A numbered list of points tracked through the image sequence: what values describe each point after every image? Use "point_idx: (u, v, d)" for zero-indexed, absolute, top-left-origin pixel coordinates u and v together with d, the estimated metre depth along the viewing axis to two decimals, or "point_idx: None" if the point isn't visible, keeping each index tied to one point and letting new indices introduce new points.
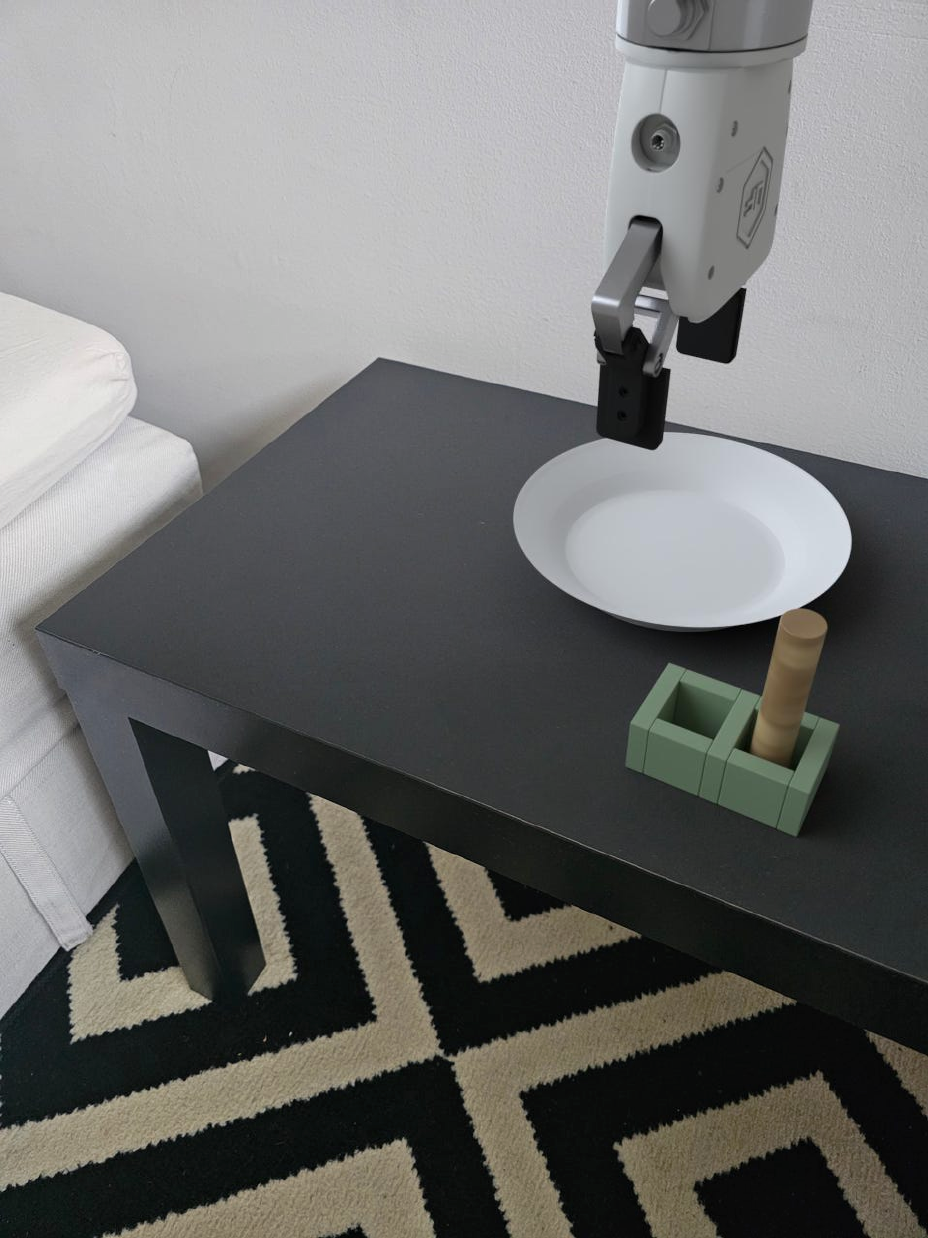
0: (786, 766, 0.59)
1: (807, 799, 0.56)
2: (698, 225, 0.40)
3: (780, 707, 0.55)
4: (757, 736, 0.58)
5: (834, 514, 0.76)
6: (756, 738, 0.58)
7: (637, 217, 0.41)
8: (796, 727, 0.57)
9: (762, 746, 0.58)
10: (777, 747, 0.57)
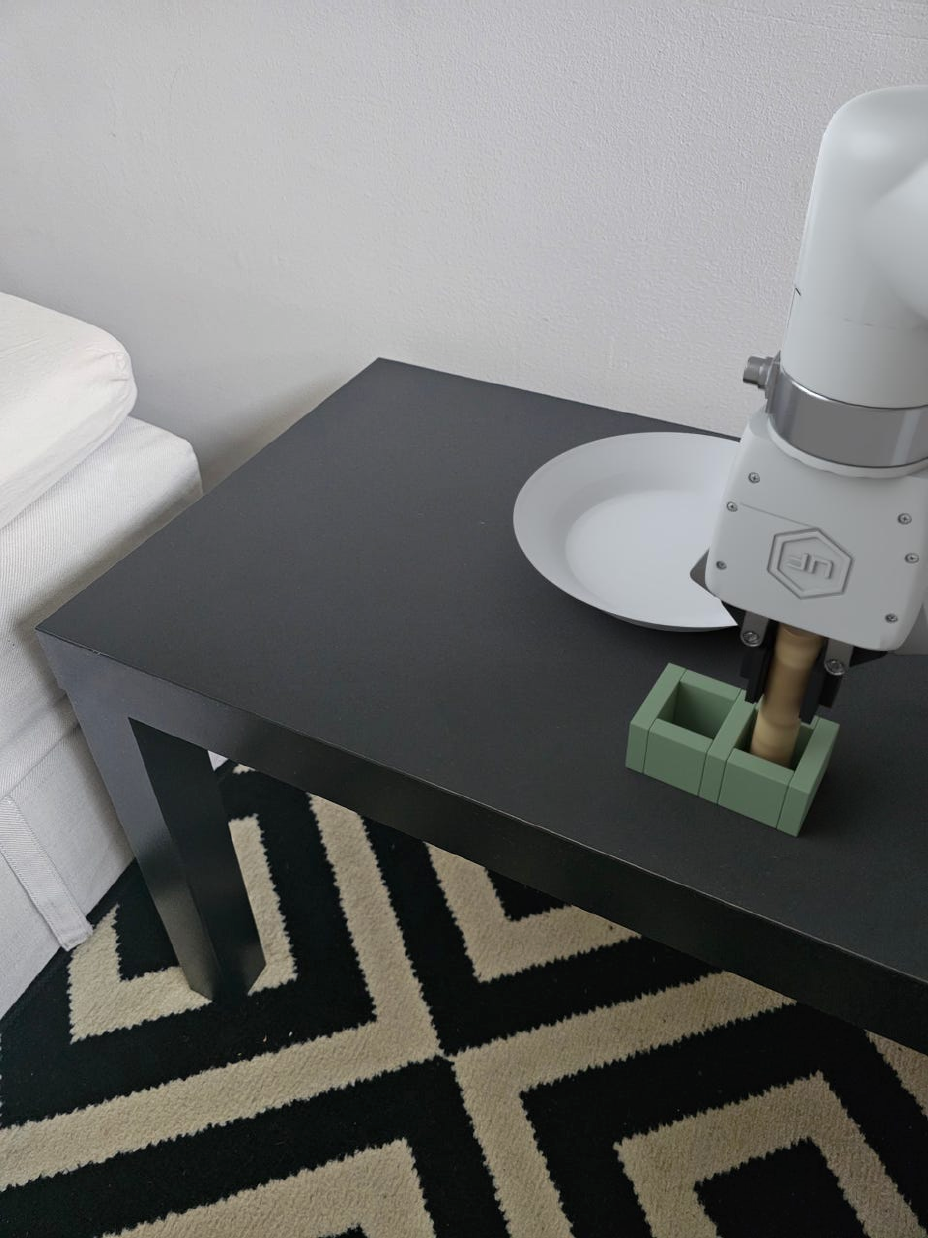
0: (786, 766, 0.59)
1: (807, 799, 0.56)
2: (716, 522, 0.49)
3: (780, 707, 0.55)
4: (757, 736, 0.58)
5: None
6: (756, 738, 0.58)
7: None
8: (796, 727, 0.57)
9: (762, 746, 0.58)
10: (777, 747, 0.57)
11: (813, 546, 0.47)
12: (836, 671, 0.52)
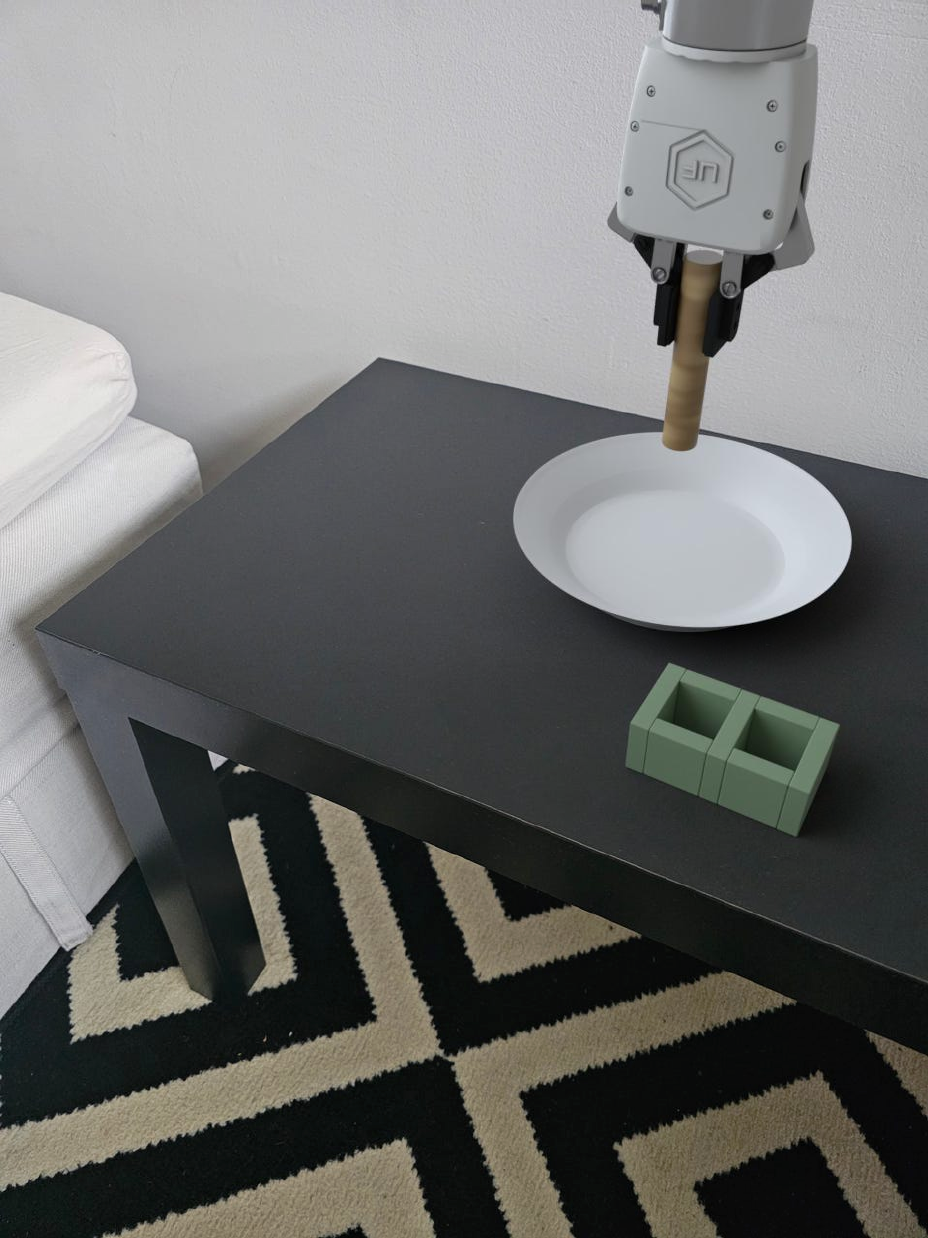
0: (697, 416, 0.67)
1: (807, 799, 0.56)
2: (623, 149, 0.57)
3: (687, 345, 0.64)
4: (670, 385, 0.66)
5: (834, 514, 0.76)
6: (670, 388, 0.66)
7: None
8: (702, 369, 0.65)
9: (675, 393, 0.66)
10: (687, 391, 0.66)
11: (701, 151, 0.55)
12: (730, 294, 0.60)
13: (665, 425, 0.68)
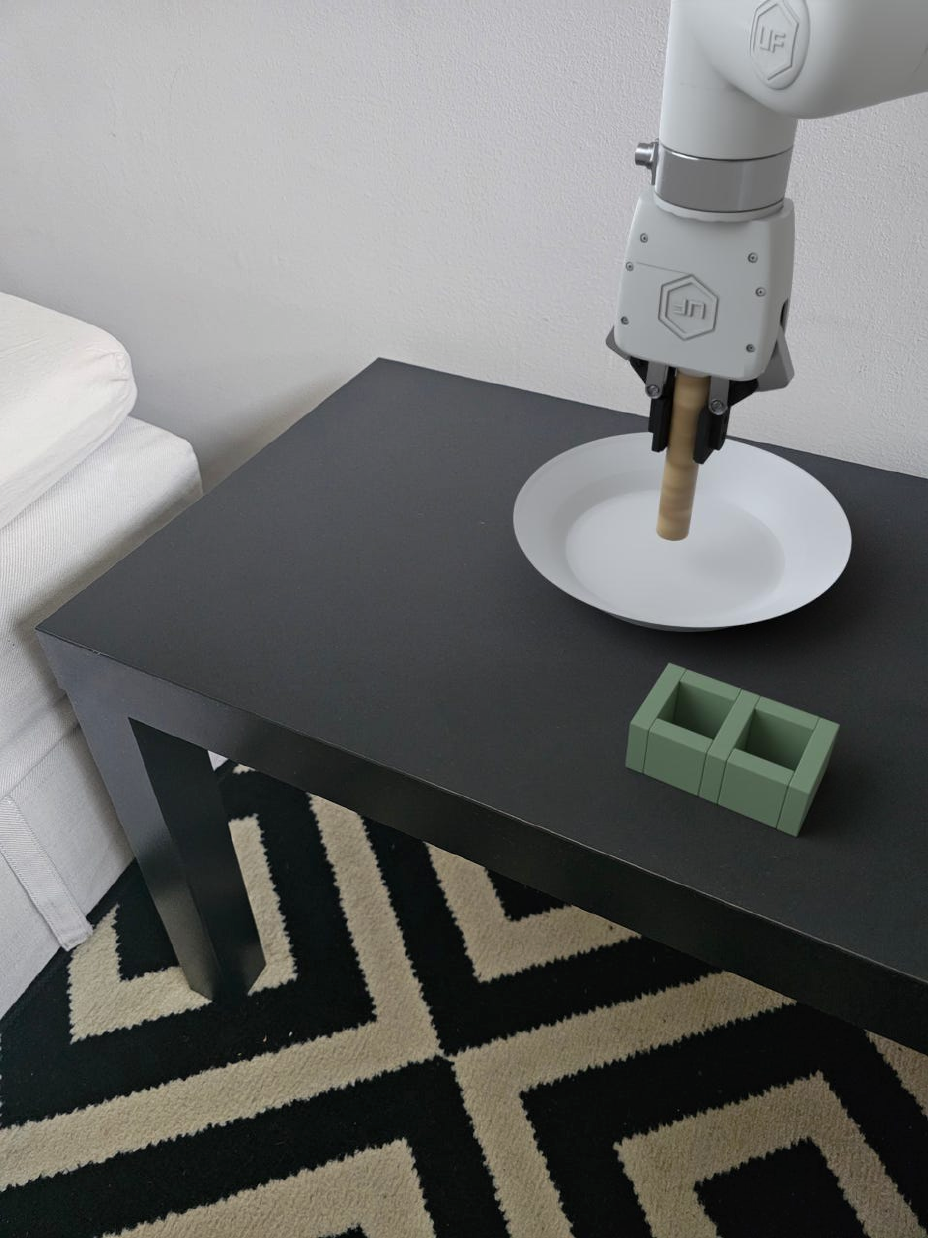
0: (688, 509, 0.72)
1: (807, 799, 0.56)
2: (620, 283, 0.63)
3: (680, 447, 0.69)
4: (664, 481, 0.71)
5: (834, 514, 0.76)
6: (663, 484, 0.72)
7: None
8: (694, 468, 0.70)
9: (668, 489, 0.71)
10: (680, 487, 0.71)
11: (690, 291, 0.60)
12: (718, 411, 0.66)
13: (659, 517, 0.73)
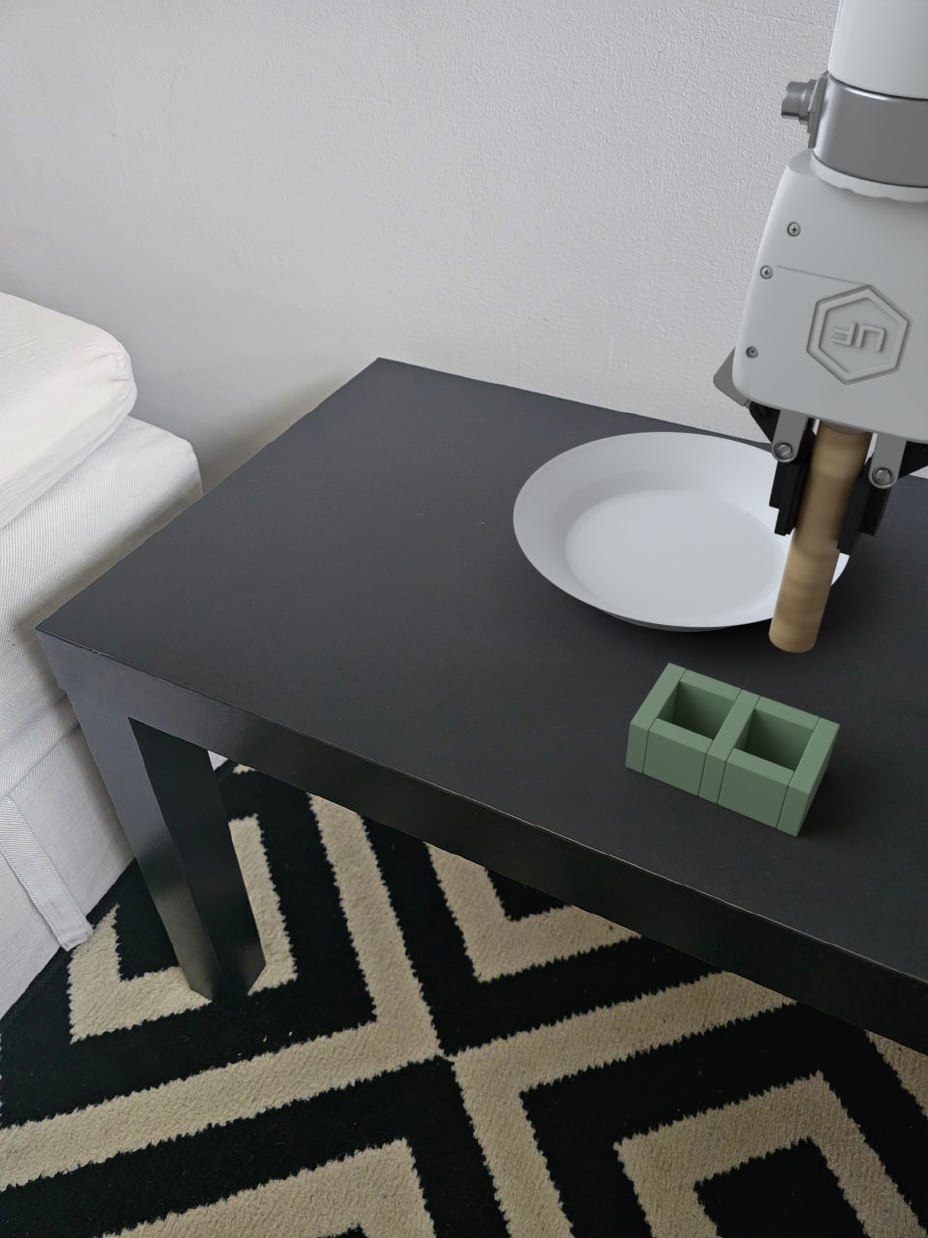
0: (820, 611, 0.51)
1: (807, 799, 0.56)
2: (747, 298, 0.42)
3: (817, 530, 0.48)
4: (788, 574, 0.51)
5: None
6: (787, 577, 0.51)
7: None
8: (834, 558, 0.49)
9: (794, 585, 0.51)
10: (811, 584, 0.50)
11: (862, 311, 0.40)
12: (883, 483, 0.45)
13: (776, 620, 0.53)
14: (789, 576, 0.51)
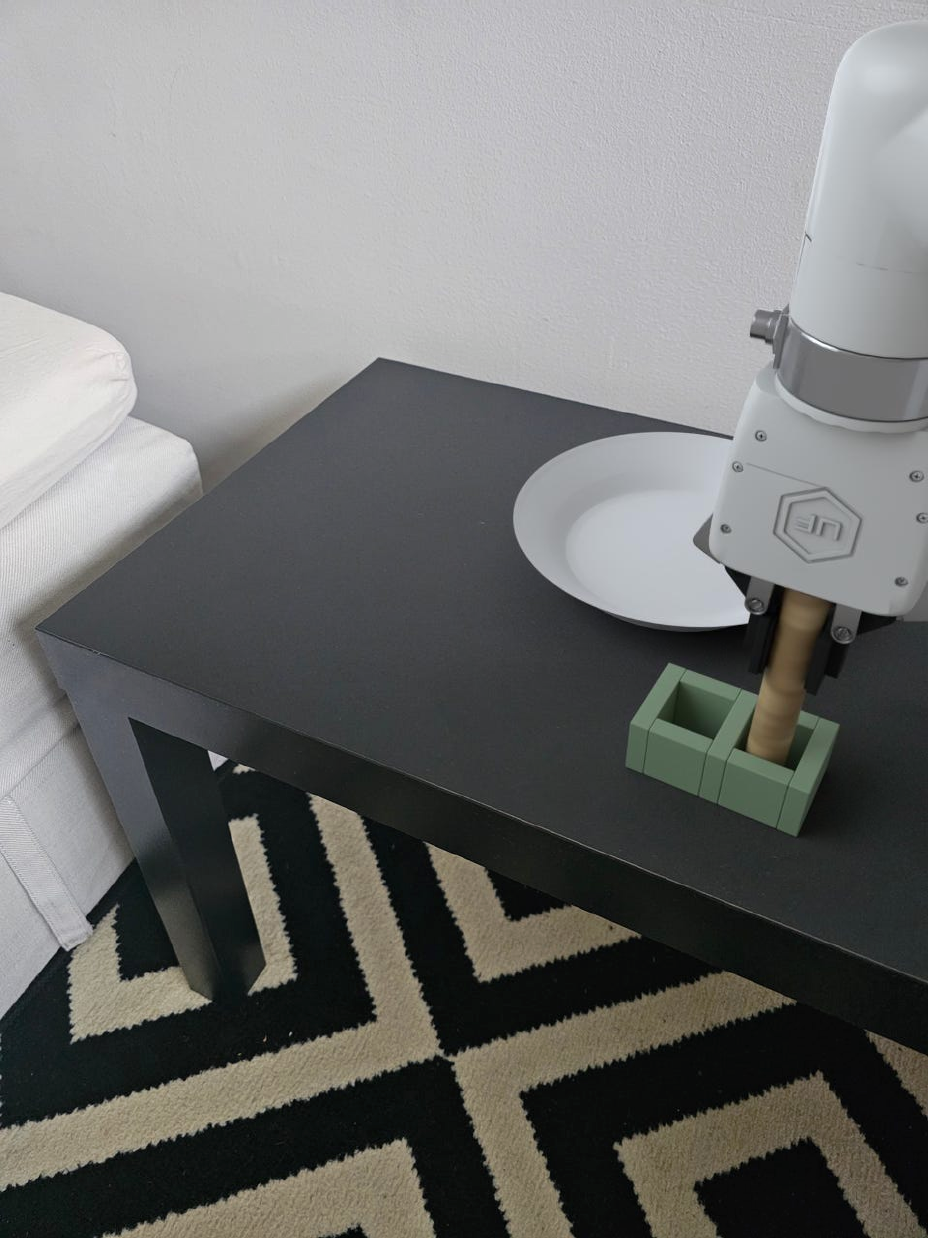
0: (790, 737, 0.57)
1: (807, 799, 0.56)
2: (721, 483, 0.48)
3: (786, 672, 0.54)
4: (761, 705, 0.56)
5: None
6: (760, 707, 0.56)
7: None
8: (802, 694, 0.55)
9: (766, 715, 0.56)
10: (782, 715, 0.56)
11: (821, 507, 0.45)
12: (843, 639, 0.51)
13: (751, 742, 0.58)
14: (762, 707, 0.56)
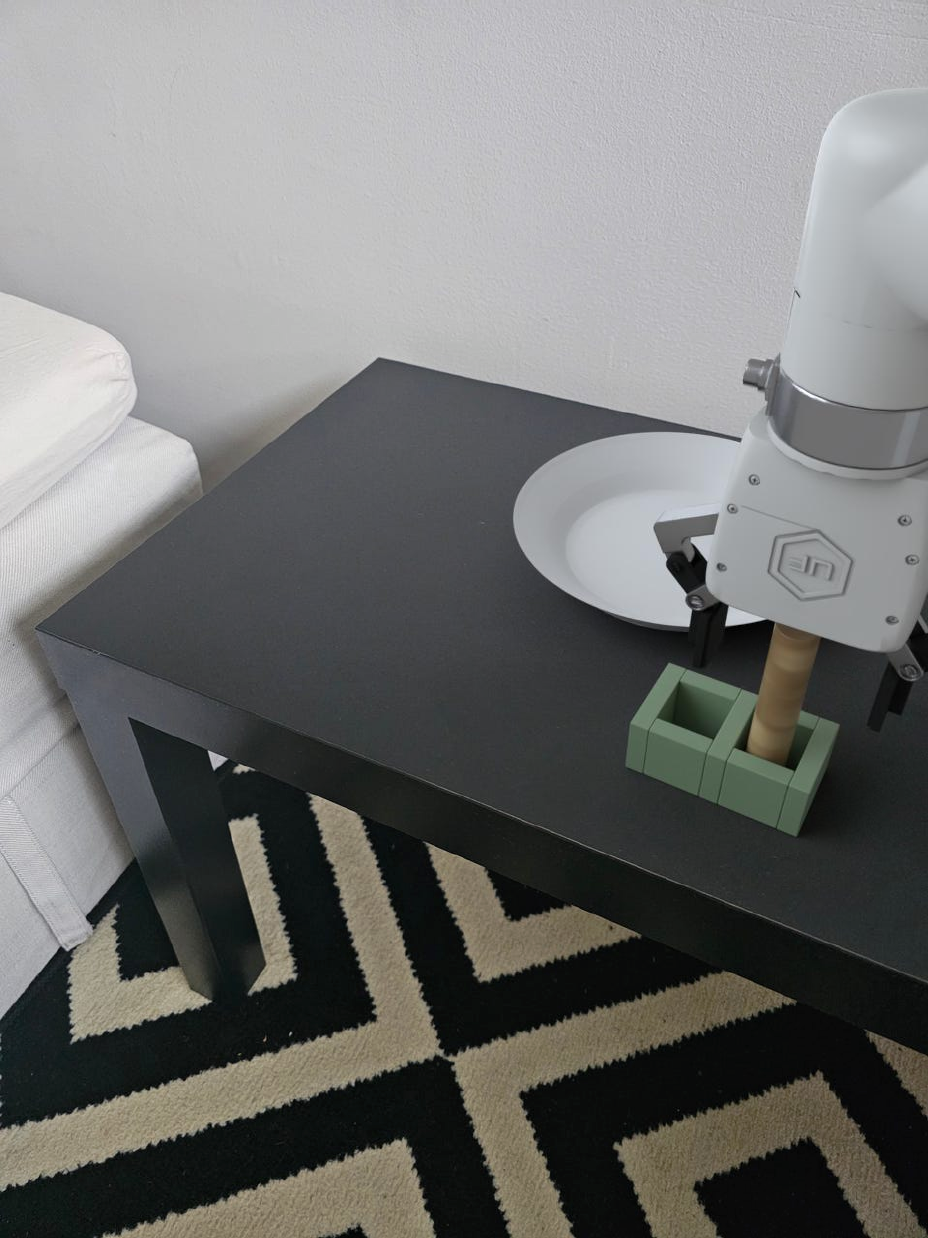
0: None
1: (807, 799, 0.56)
2: (717, 524, 0.49)
3: (776, 709, 0.55)
4: (752, 739, 0.58)
5: None
6: (752, 741, 0.58)
7: None
8: (792, 729, 0.56)
9: (758, 748, 0.58)
10: (773, 749, 0.57)
11: (813, 548, 0.47)
12: (910, 677, 0.50)
13: None
14: (754, 741, 0.58)
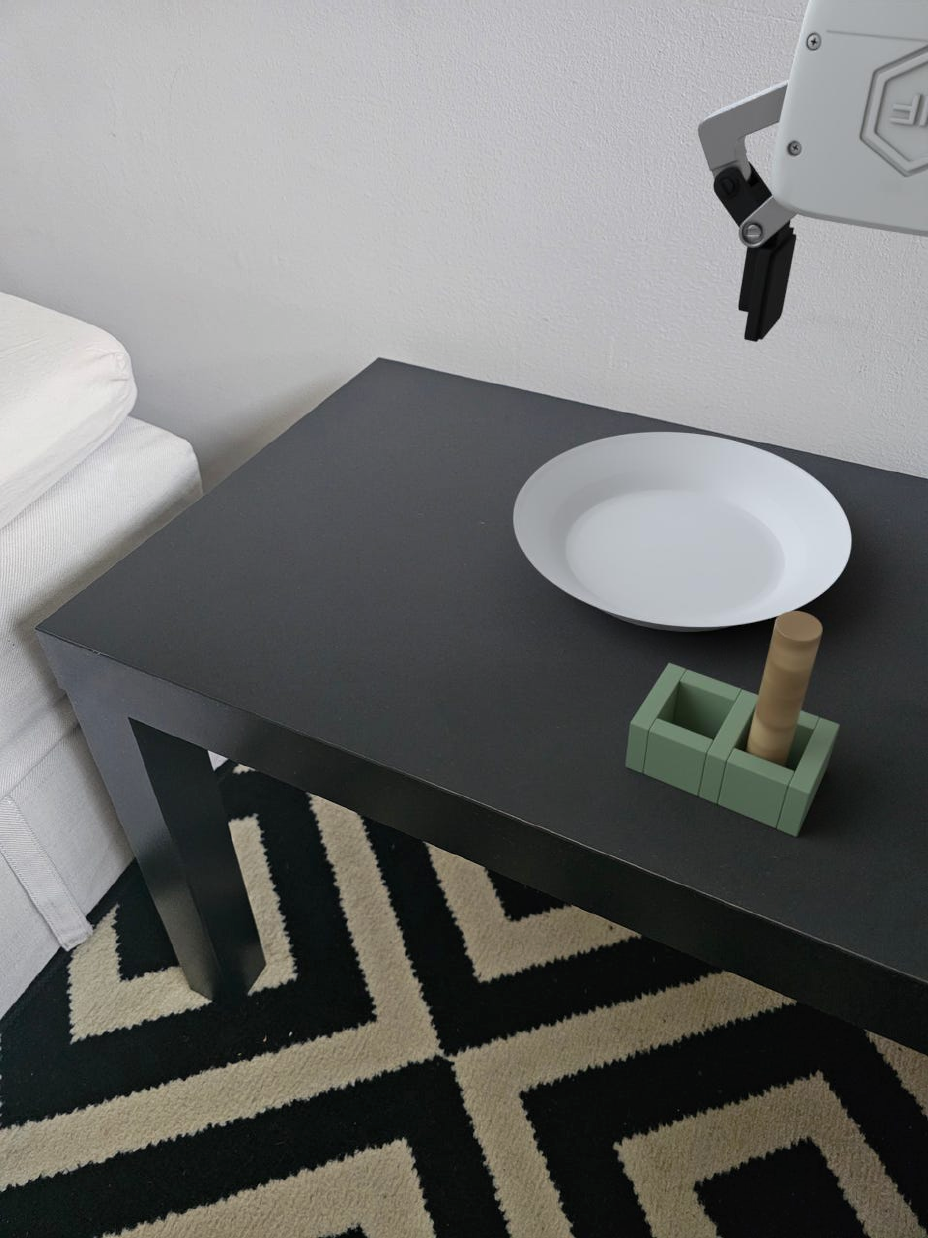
0: None
1: (807, 799, 0.56)
2: (789, 81, 0.36)
3: (776, 709, 0.55)
4: (752, 739, 0.58)
5: (834, 514, 0.77)
6: (752, 741, 0.58)
7: None
8: (792, 729, 0.56)
9: (758, 748, 0.58)
10: (773, 749, 0.57)
11: None
12: None
13: None
14: (754, 741, 0.58)
